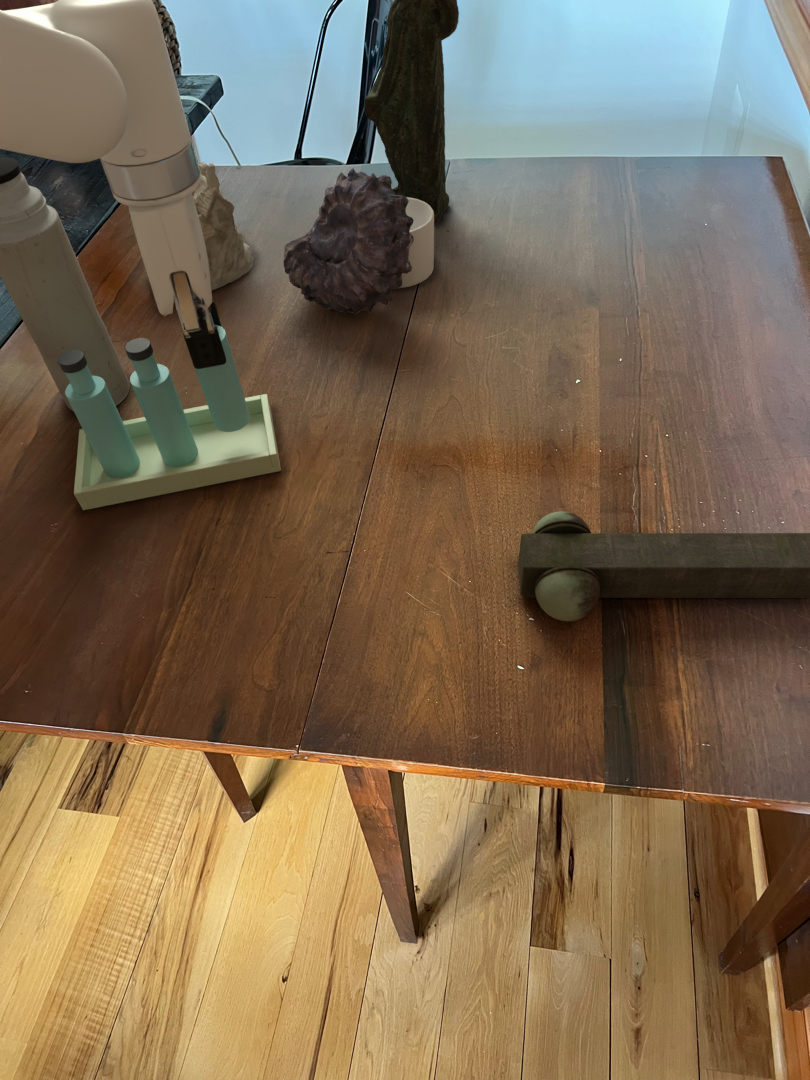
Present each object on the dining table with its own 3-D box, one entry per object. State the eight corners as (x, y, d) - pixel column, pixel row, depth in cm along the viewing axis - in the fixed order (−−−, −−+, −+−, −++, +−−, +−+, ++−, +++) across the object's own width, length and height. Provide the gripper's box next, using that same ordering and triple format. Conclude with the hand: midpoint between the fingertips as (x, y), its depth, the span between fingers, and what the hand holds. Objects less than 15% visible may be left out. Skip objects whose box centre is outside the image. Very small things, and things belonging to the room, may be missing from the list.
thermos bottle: (107, 365, 100) (8, 141, 78) (142, 389, 96) (49, 160, 75) (53, 397, 96) (-66, 171, 75) (88, 423, 92) (-27, 193, 71)
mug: (450, 262, 110) (449, 207, 104) (407, 298, 105) (403, 242, 99) (376, 239, 116) (371, 185, 110) (332, 271, 111) (324, 217, 105)
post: (826, 537, 75) (515, 537, 76) (849, 497, 70) (519, 498, 72) (867, 635, 67) (522, 633, 69) (895, 597, 63) (526, 596, 65)
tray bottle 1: (103, 481, 85) (47, 373, 74) (104, 457, 87) (51, 349, 76) (140, 474, 85) (90, 365, 74) (140, 450, 88) (92, 341, 77)
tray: (83, 510, 83) (73, 493, 81) (87, 445, 90) (79, 429, 88) (281, 471, 85) (276, 453, 83) (271, 410, 92) (266, 393, 90)
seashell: (326, 269, 111) (330, 355, 106) (259, 218, 102) (259, 308, 96) (435, 197, 101) (447, 286, 95) (372, 131, 91) (381, 227, 85)
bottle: (215, 435, 84) (175, 318, 72) (213, 412, 86) (174, 295, 75) (251, 428, 84) (217, 310, 73) (248, 405, 86) (215, 288, 75)
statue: (463, 196, 123) (462, -80, 96) (458, 226, 117) (455, -59, 90) (374, 196, 125) (348, -74, 98) (364, 226, 119) (334, -53, 92)
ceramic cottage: (236, 225, 121) (206, 128, 109) (266, 278, 112) (237, 178, 100) (140, 257, 119) (99, 161, 107) (163, 314, 109) (120, 216, 97)
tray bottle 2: (162, 469, 85) (116, 360, 74) (162, 446, 88) (117, 337, 77) (198, 462, 86) (158, 353, 75) (197, 439, 88) (157, 330, 77)
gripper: (109, 135, 69) (170, 312, 83) (103, 224, 58) (174, 410, 72) (193, 122, 70) (240, 300, 84) (202, 207, 59) (253, 395, 73)
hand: (209, 349), depth 78 cm, fingers closed on bottle, 4 cm apart
